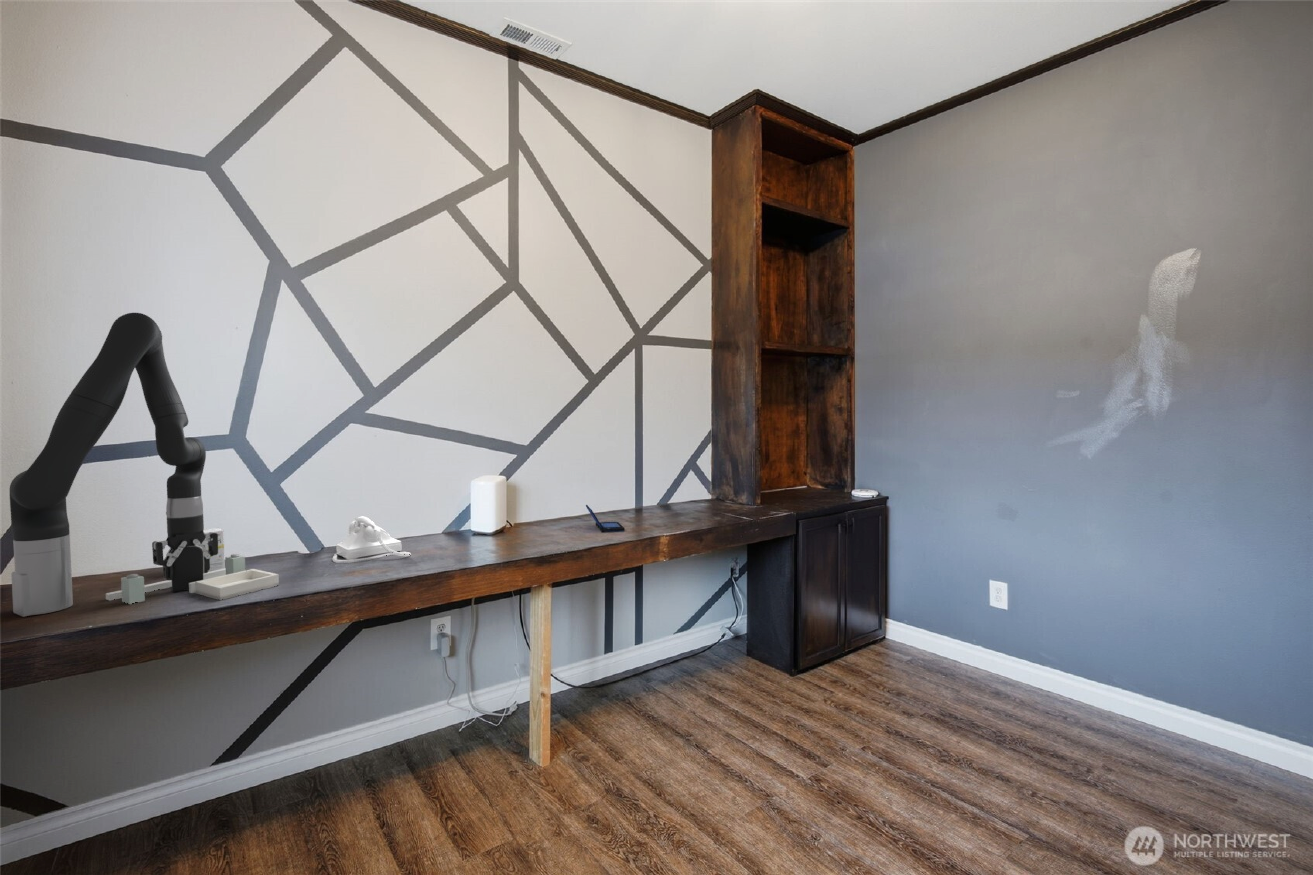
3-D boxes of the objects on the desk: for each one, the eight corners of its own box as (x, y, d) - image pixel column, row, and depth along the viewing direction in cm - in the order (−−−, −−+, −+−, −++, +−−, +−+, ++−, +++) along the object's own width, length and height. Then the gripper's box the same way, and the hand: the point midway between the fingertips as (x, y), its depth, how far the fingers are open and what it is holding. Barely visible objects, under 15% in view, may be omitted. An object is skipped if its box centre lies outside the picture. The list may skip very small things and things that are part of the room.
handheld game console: (625, 532, 230) (625, 508, 229) (590, 534, 226) (590, 509, 226) (617, 524, 245) (617, 502, 244) (585, 526, 242) (585, 503, 241)
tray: (220, 600, 147) (220, 588, 147) (195, 593, 152) (195, 581, 152) (278, 585, 159) (278, 574, 159) (253, 579, 165) (253, 568, 165)
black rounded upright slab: (205, 584, 160) (203, 542, 159) (204, 588, 157) (203, 545, 156) (172, 589, 156) (170, 546, 155) (170, 593, 153) (169, 549, 152)
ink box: (189, 574, 170) (188, 533, 169) (185, 571, 173) (184, 531, 173) (225, 568, 176) (224, 529, 176) (221, 565, 180) (220, 527, 179)
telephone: (415, 557, 191) (414, 519, 190) (345, 569, 176) (344, 528, 175) (385, 545, 208) (384, 509, 208) (319, 555, 194) (318, 517, 193)
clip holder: (130, 607, 141) (129, 580, 141) (105, 599, 148) (104, 573, 147) (255, 578, 166) (254, 554, 166) (230, 572, 172) (229, 549, 172)
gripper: (159, 519, 147) (161, 585, 148) (223, 511, 160) (225, 571, 161) (144, 517, 151) (147, 581, 151) (208, 509, 163) (210, 568, 164)
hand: (187, 576), depth 156 cm, fingers closed on black rounded upright slab, 7 cm apart
